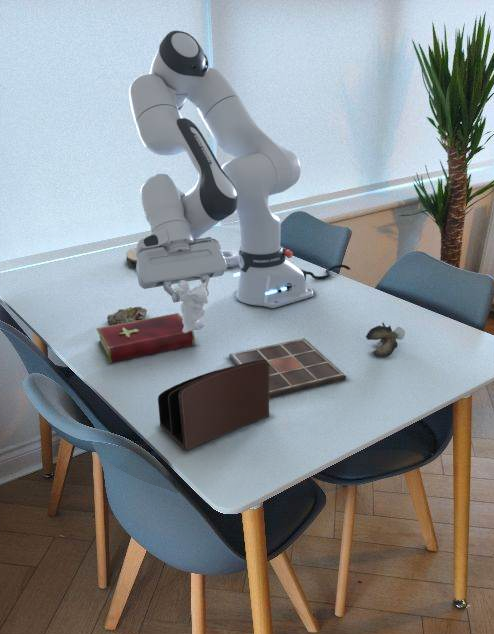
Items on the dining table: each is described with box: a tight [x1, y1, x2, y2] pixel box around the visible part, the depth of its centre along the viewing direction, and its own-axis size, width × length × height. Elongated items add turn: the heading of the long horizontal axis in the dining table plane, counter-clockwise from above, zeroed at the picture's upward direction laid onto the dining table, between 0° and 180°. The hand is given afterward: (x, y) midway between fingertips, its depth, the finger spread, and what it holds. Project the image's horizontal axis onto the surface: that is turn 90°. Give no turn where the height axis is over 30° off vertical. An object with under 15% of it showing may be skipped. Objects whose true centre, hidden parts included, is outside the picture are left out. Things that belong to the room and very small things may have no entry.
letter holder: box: [157, 359, 270, 452], centre depth 117 cm, size 10×20×14 cm, turn 126°
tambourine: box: [125, 247, 138, 270], centre depth 198 cm, size 16×16×3 cm
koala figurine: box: [173, 280, 209, 333], centre depth 134 cm, size 8×7×12 cm
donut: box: [221, 249, 239, 269], centre depth 196 cm, size 10×4×10 cm
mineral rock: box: [106, 306, 148, 325], centre depth 161 cm, size 11×4×8 cm
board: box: [228, 337, 347, 399], centre depth 139 cm, size 20×20×1 cm
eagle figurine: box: [365, 321, 406, 358], centre depth 145 cm, size 8×7×9 cm
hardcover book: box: [96, 312, 196, 364], centre depth 148 cm, size 12×21×4 cm, turn 115°
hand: (191, 298), depth 134 cm, fingers closed on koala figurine, 5 cm apart
